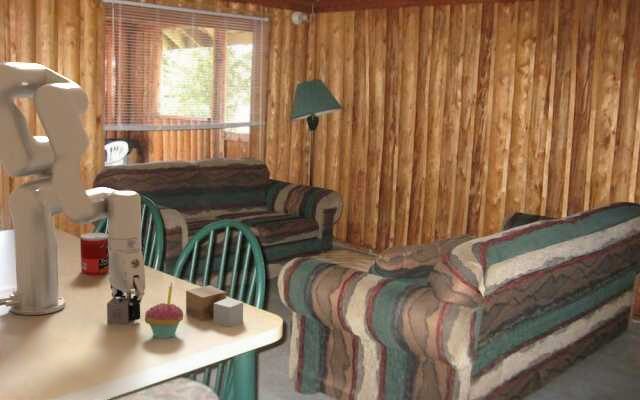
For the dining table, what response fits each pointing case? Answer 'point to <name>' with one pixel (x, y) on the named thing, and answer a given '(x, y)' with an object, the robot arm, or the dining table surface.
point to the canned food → (94, 253)
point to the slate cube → (228, 312)
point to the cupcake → (164, 318)
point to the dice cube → (118, 311)
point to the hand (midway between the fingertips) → (126, 315)
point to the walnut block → (203, 301)
